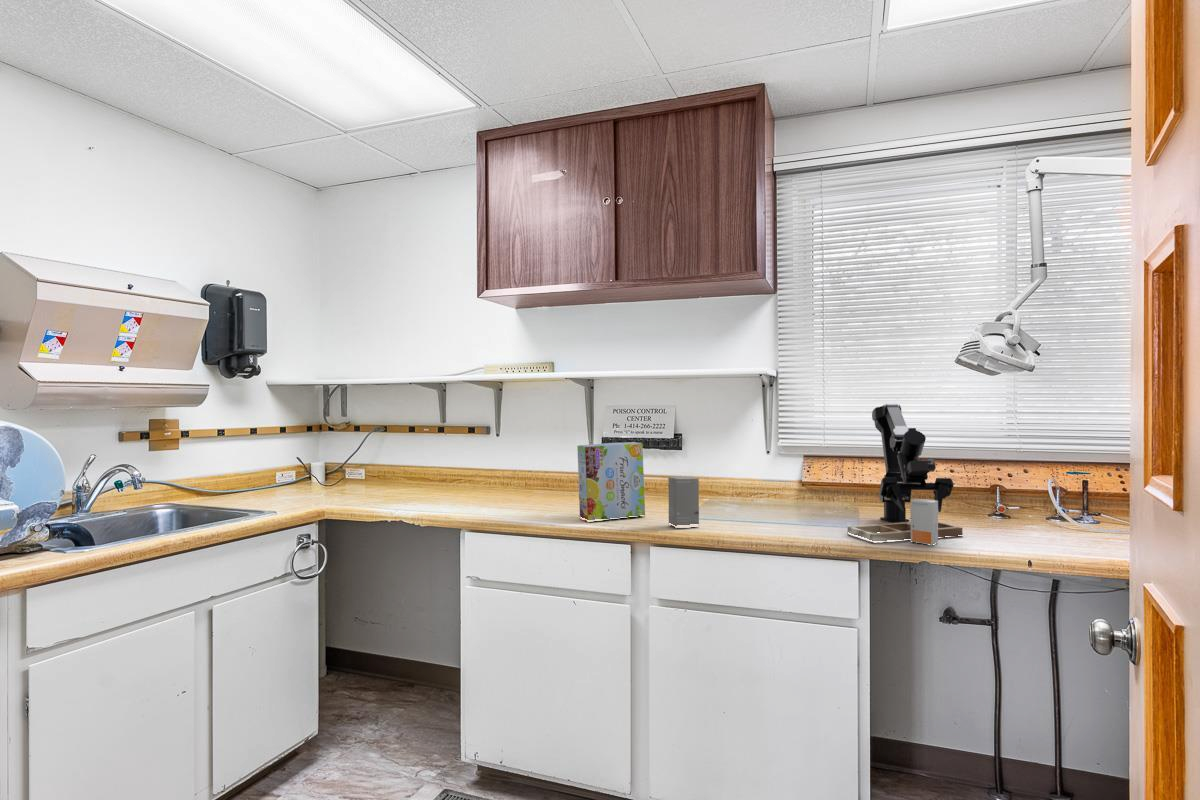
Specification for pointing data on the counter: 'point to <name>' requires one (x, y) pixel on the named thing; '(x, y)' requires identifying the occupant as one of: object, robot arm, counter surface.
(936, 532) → the skincare box
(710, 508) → the counter surface
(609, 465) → the snack box
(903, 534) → the brown compartment tray
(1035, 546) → the counter surface
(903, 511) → the robot arm
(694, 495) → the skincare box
